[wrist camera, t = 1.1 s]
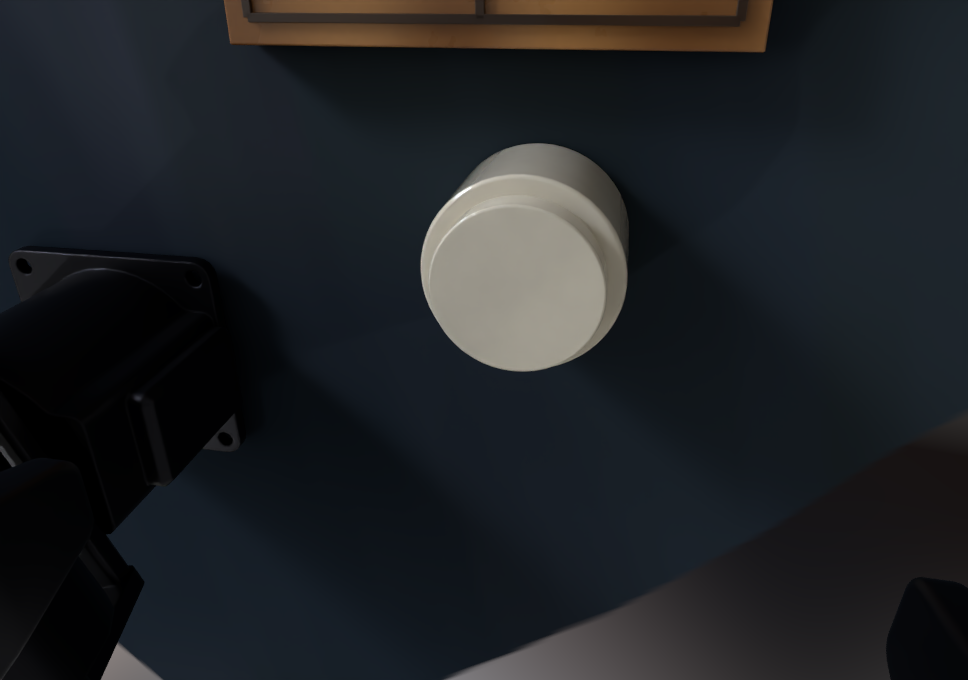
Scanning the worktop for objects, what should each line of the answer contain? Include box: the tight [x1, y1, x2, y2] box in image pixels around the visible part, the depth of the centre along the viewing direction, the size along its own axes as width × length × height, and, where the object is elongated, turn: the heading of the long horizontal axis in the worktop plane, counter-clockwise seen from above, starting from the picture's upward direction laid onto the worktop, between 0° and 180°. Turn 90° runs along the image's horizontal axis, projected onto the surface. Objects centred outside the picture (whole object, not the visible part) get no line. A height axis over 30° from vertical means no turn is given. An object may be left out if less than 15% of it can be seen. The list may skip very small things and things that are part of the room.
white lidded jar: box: [421, 143, 629, 371], centre depth 17 cm, size 5×5×4 cm
